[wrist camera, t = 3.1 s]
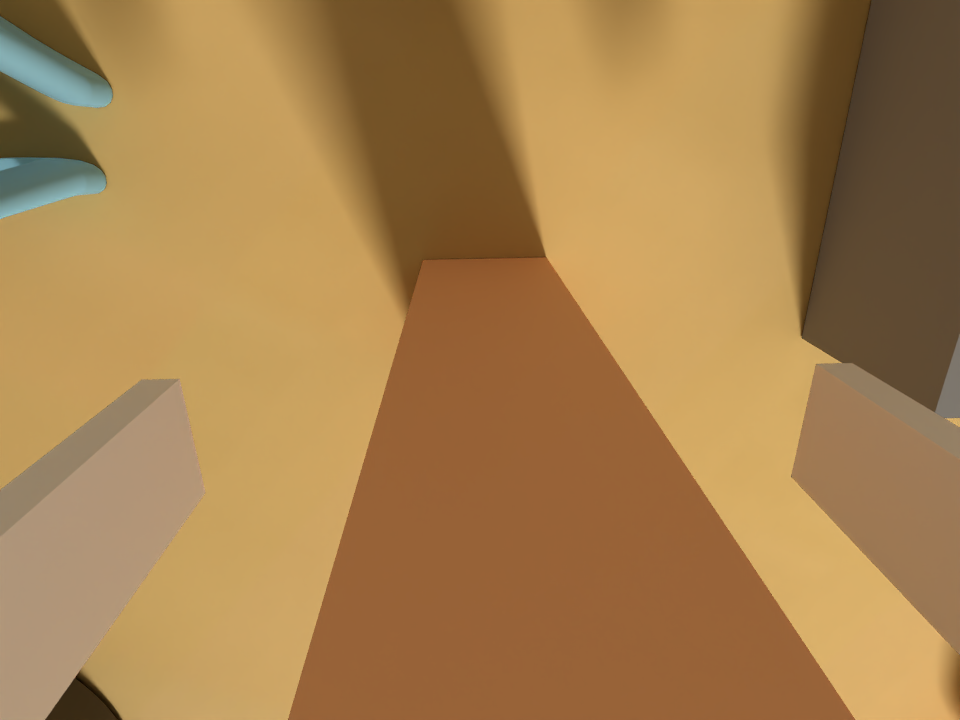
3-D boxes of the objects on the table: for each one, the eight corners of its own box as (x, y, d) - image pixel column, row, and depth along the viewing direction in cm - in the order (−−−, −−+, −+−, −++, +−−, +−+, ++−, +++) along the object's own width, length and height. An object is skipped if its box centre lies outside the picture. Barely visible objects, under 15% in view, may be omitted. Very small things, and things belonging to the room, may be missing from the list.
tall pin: (428, 373, 20) (337, 1063, 5) (423, 259, 19) (271, 774, 4) (542, 370, 20) (770, 1039, 5) (546, 257, 19) (874, 748, 4)
